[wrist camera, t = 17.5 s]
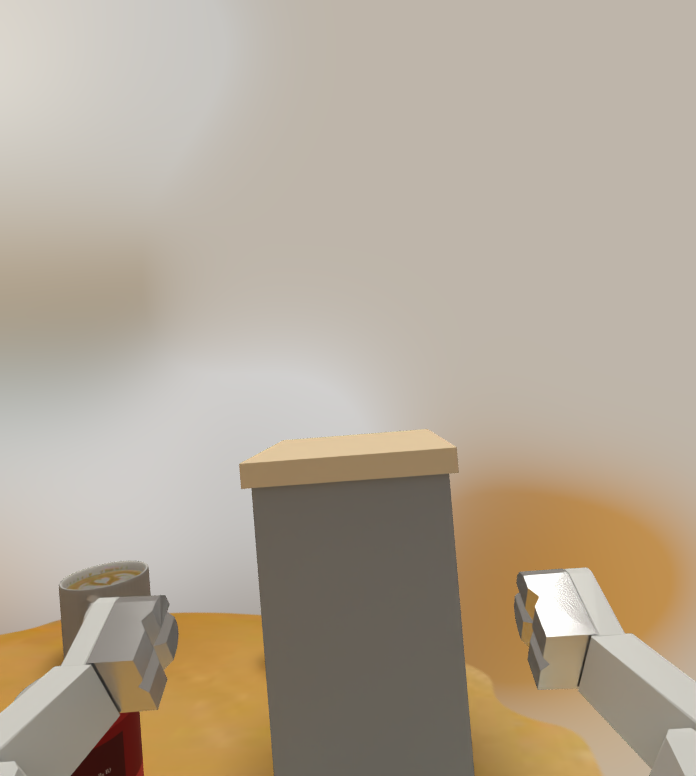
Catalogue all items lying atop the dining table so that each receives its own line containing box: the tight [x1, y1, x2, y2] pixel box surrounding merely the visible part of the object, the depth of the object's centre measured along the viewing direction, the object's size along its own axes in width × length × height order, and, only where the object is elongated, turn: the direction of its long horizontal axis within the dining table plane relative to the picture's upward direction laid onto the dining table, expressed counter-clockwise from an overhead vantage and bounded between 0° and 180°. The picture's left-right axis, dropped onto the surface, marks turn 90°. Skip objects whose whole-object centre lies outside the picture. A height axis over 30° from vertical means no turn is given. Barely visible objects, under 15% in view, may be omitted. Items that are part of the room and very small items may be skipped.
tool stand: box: [239, 429, 474, 776], centre depth 37 cm, size 15×13×26 cm
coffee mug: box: [59, 561, 151, 659], centre depth 60 cm, size 13×10×10 cm
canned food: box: [14, 677, 144, 776], centre depth 35 cm, size 8×8×11 cm
